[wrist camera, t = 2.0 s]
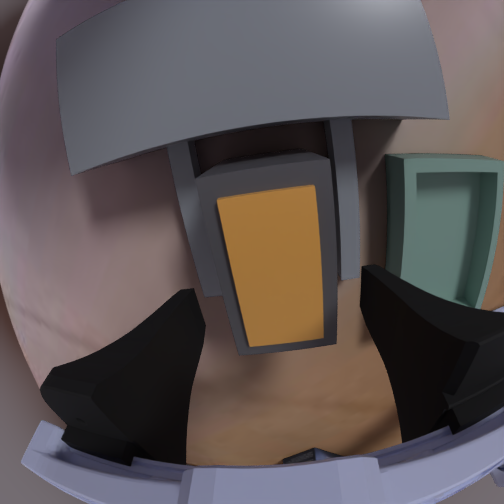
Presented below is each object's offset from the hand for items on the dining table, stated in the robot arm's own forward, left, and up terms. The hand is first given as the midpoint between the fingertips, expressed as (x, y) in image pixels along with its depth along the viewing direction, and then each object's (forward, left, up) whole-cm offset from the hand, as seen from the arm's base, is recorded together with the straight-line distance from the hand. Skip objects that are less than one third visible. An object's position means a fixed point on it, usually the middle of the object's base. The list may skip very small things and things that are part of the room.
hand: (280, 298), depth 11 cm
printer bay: (+6, 0, -6) cm, 9 cm away
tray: (-2, -12, -6) cm, 14 cm away
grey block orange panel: (+1, 0, -6) cm, 7 cm away
